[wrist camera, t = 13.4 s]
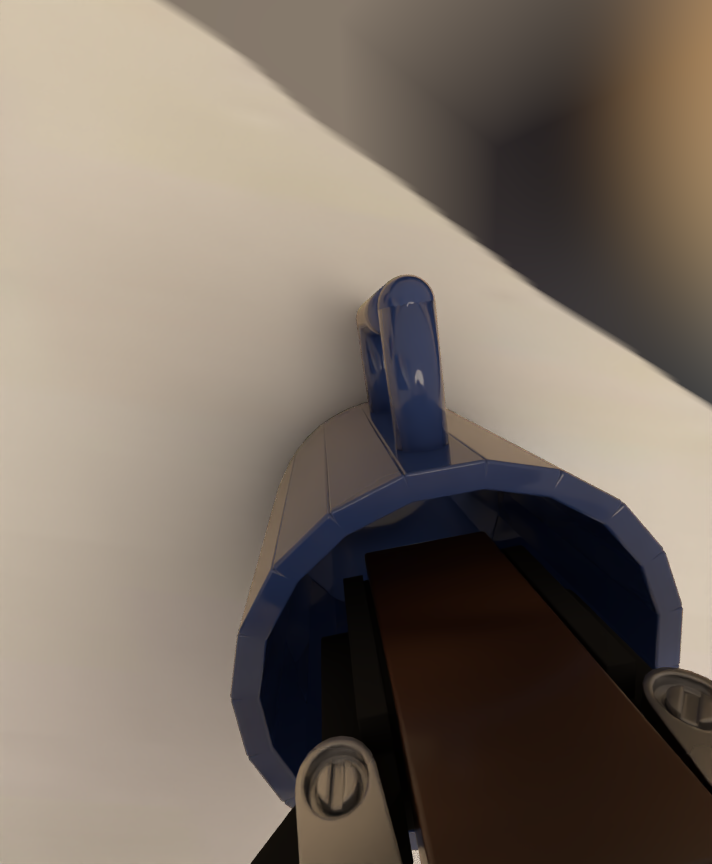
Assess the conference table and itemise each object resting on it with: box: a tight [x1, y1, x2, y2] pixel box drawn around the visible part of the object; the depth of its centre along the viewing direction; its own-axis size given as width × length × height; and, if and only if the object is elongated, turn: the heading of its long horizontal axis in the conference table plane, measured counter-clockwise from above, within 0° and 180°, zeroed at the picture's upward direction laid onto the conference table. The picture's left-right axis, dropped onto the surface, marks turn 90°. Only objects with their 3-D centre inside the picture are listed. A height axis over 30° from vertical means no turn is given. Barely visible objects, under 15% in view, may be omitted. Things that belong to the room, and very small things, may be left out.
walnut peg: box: [364, 531, 712, 864], centre depth 8 cm, size 3×3×7 cm
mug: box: [230, 275, 683, 850], centre depth 12 cm, size 13×10×8 cm
